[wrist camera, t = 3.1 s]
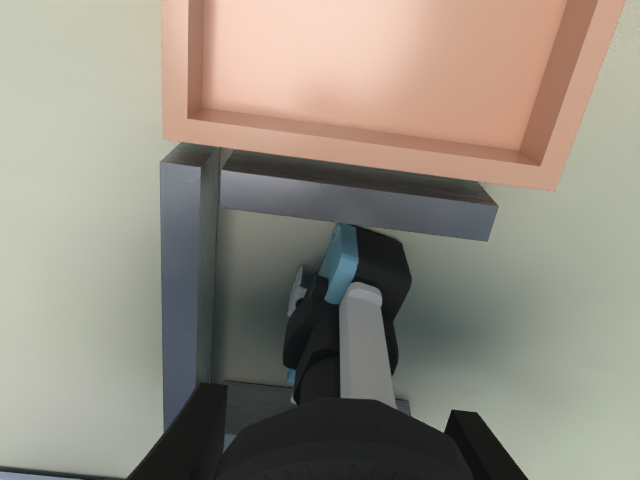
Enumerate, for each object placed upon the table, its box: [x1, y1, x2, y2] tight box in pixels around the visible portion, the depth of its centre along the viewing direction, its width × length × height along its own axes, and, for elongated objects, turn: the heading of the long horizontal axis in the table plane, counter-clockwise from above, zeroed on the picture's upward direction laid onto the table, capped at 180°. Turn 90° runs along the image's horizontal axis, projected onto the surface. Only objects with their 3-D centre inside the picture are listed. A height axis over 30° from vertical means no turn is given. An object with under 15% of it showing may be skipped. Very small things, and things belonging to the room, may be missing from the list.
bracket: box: [160, 142, 499, 453], centre depth 15 cm, size 8×10×2 cm
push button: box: [213, 223, 474, 480], centre depth 12 cm, size 7×5×10 cm
